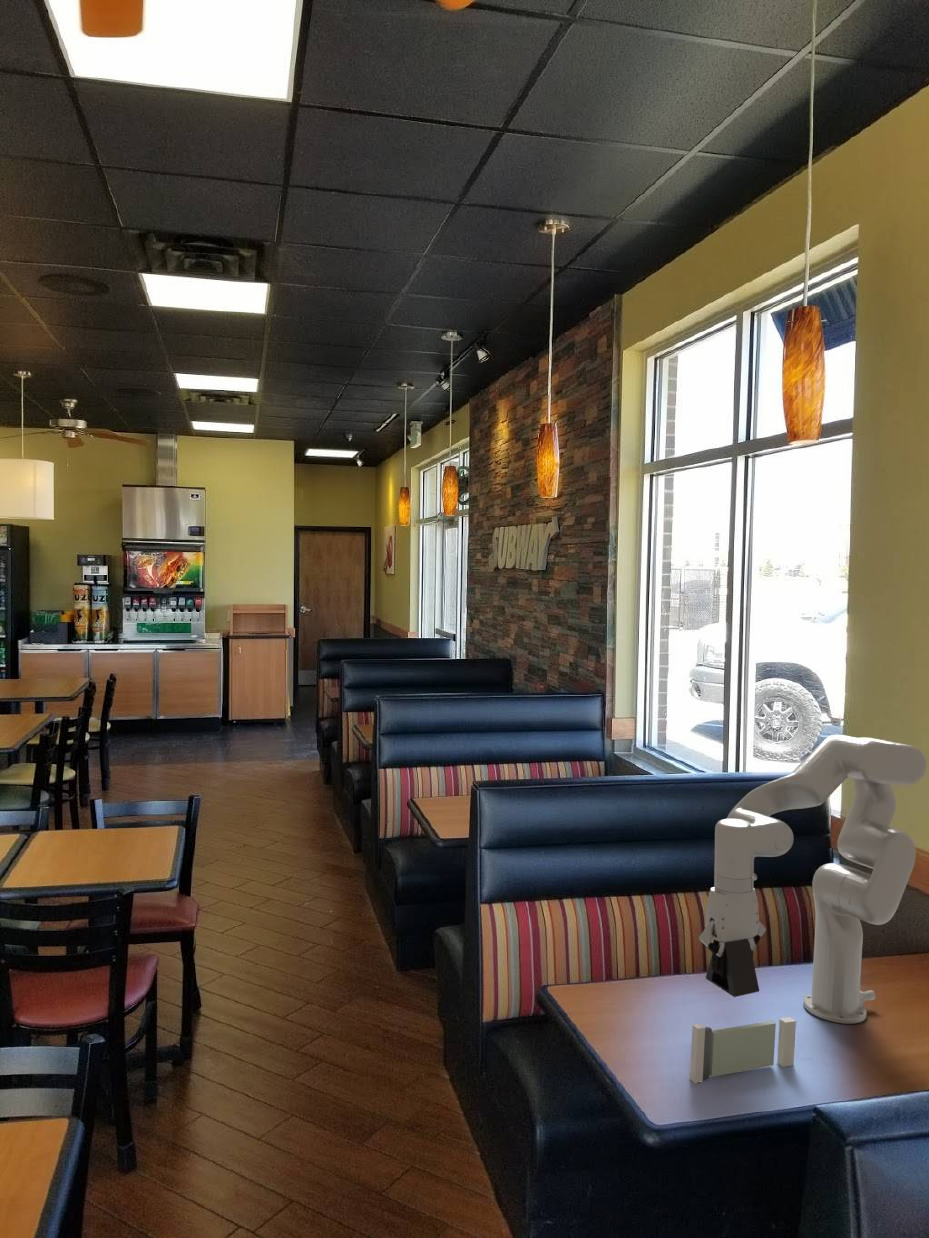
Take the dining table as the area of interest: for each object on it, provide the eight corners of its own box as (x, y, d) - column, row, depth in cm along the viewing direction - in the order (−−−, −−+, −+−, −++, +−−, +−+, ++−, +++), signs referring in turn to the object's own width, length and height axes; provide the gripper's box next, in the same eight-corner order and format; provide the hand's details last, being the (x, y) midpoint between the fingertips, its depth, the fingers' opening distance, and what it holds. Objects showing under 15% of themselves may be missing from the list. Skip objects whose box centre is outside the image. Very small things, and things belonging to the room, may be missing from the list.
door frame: (787, 1060, 170) (790, 1009, 170) (793, 1065, 169) (796, 1012, 169) (689, 1078, 162) (692, 1024, 162) (695, 1083, 161) (697, 1028, 161)
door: (704, 1080, 162) (707, 1031, 161) (699, 1075, 163) (702, 1027, 163) (774, 1067, 167) (776, 1019, 167) (769, 1063, 169) (771, 1016, 168)
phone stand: (759, 992, 176) (760, 932, 175) (734, 997, 174) (735, 937, 173) (729, 973, 184) (730, 916, 184) (705, 978, 182) (706, 920, 181)
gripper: (756, 871, 185) (754, 956, 185) (686, 881, 178) (685, 969, 179) (781, 883, 178) (779, 971, 178) (709, 893, 171) (707, 985, 172)
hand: (732, 969), depth 179 cm, fingers closed on phone stand, 6 cm apart
